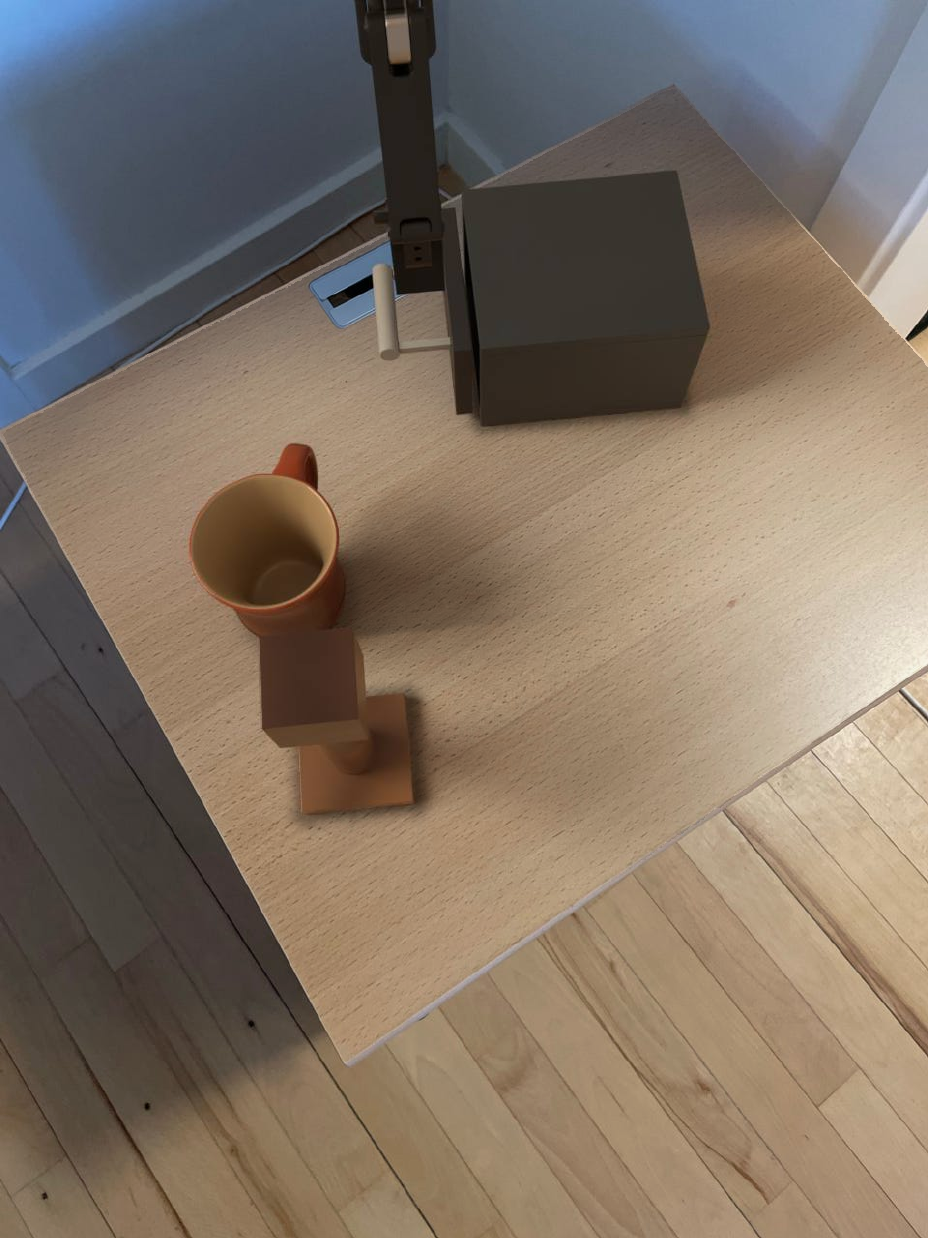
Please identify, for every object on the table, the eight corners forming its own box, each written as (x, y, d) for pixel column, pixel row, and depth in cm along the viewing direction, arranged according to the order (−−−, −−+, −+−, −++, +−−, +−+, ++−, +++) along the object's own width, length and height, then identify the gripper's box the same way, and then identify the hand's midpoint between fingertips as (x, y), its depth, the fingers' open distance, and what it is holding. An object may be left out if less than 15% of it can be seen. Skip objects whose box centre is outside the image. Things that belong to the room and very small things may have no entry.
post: (303, 814, 62) (255, 775, 49) (299, 707, 64) (251, 642, 51) (414, 803, 62) (395, 761, 49) (405, 696, 65) (385, 629, 51)
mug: (342, 674, 65) (317, 624, 55) (215, 649, 66) (169, 595, 56) (383, 512, 69) (367, 439, 59) (263, 490, 70) (228, 414, 60)
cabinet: (481, 426, 71) (480, 348, 62) (464, 282, 75) (461, 189, 66) (681, 407, 71) (710, 327, 62) (653, 264, 75) (677, 169, 66)
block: (279, 748, 49) (260, 728, 45) (276, 663, 51) (257, 636, 47) (369, 739, 49) (358, 719, 45) (363, 654, 51) (352, 626, 47)
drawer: (388, 421, 70) (377, 358, 63) (377, 288, 74) (365, 214, 67) (643, 397, 71) (662, 331, 63) (620, 266, 74) (635, 190, 67)
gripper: (508, 10, 33) (498, 368, 53) (441, -430, 41) (454, 24, 61) (285, 30, 33) (359, 381, 53) (262, -415, 41) (334, 35, 61)
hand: (410, 190), depth 57 cm, fingers open, 13 cm apart
